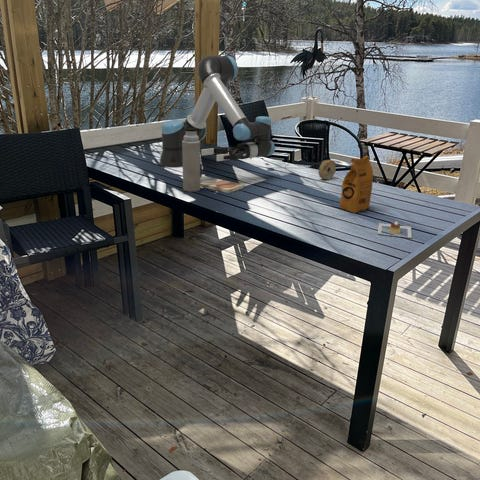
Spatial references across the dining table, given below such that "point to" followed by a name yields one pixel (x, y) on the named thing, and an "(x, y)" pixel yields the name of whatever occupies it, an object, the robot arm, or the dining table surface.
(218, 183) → the board
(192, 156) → the thermos bottle
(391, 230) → the dessert
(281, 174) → the dining table surface
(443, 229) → the dining table surface
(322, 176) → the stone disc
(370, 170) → the coffee package
